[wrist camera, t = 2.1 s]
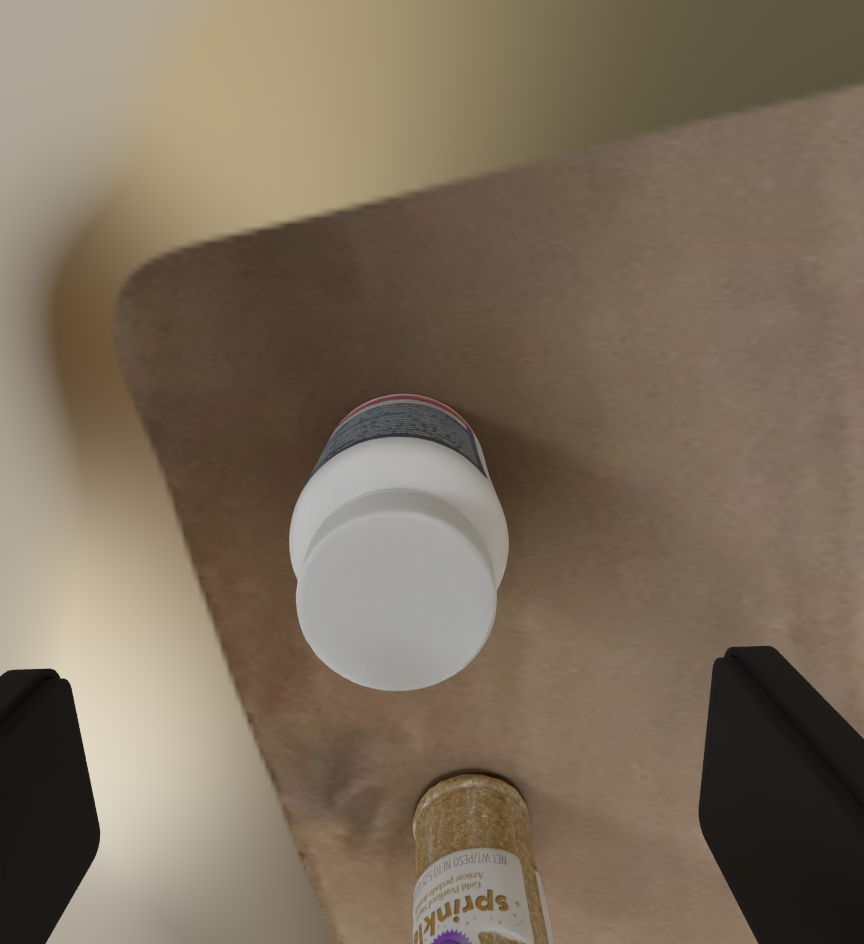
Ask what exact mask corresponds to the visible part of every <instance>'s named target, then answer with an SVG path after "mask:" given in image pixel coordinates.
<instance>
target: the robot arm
mask: <svg viewBox="0 0 864 944" xmlns="http://www.w3.org/2000/svg"><path fill="white" fill-rule="evenodd" d="M699 821H700V826H701V830H702V833H703V836H704V838H705V840H706V842H707V844H708V846H709V848H710V850H711V852H712V854H713V856H714V858H715V860H716V862H717V864H718V866H719V868H720V870H721V872H722V874H723V875H724V877H725V879H726V881H727V883H728V885H729V887H730V889H731V891H732V893H733V895H734V897H735V899H736V901H737V903H738V905H739V907H740V909H741V911H742V913H743V915H744V917H745V918H746V920H747V922H748V924H749V926H750V928H751V930H752V932H753V934H754V936H755V938H756V940H757V942H758V944H864V739H863V738H862V737H861V736H860V735H859V734H858V733H857V732H856V731H855V730H854V729H853V728H852V727H851V726H850V725H849V724H848V722H847V721H846V720H845V719H844V718H843V717H842V716H841V715H840V714H839V713H838V712H837V711H836V710H835V709H834V708H833V707H832V706H831V705H830V704H829V703H828V702H827V701H826V700H825V699H824V698H823V697H822V696H821V695H820V694H819V693H818V692H817V691H816V690H815V689H814V688H813V687H812V686H811V685H810V684H809V683H808V682H807V681H806V679H805V678H804V677H803V676H802V675H801V674H800V673H799V672H798V671H797V670H796V669H795V668H794V667H793V666H792V665H791V664H790V663H789V662H788V661H787V660H786V659H785V658H784V657H783V656H782V655H781V654H780V653H779V652H778V651H777V650H776V649H775V648H773V647H771V646H750V647H730V648H729V649H727V651H726V653H725V656H724V658H717V659H716V660H715V662H714V665H713V672H712V682H711V692H710V701H709V711H708V721H707V731H706V741H705V751H704V761H703V770H702V780H701V790H700V800H699ZM99 841H100V827H99V822H98V817H97V812H96V807H95V802H94V797H93V792H92V787H91V782H90V777H89V773H88V767H87V762H86V757H85V752H84V748H83V743H82V738H81V733H80V728H79V723H78V718H77V713H76V708H75V704H74V698H73V693H72V688H71V686H70V683H69V682H68V680H66V679H60V676H59V675H58V673H57V672H56V671H55V670H53V669H25V670H10V671H7V672H6V673H4V674H3V675H1V676H0V944H46V942H47V940H48V938H49V937H50V935H51V933H52V931H53V930H54V928H55V926H56V924H57V923H58V921H59V919H60V917H61V916H62V914H63V912H64V910H65V909H66V907H67V905H68V904H69V902H70V900H71V898H72V897H73V895H74V893H75V891H76V890H77V887H78V886H79V884H80V883H81V881H82V879H83V877H84V876H85V874H86V872H87V871H88V869H89V867H90V865H91V863H92V862H93V860H94V858H95V856H96V853H97V850H98V847H99Z"/></svg>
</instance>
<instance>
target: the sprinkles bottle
mask: <svg viewBox="0 0 864 944" xmlns="http://www.w3.org/2000/svg"><path fill="white" fill-rule="evenodd" d="M412 828H413V835H414V839H415V843H416V854H415V863H416V865H415V871H416V873H415V875H416V883H415V890H414V896H413V944H554V940H553V935H552V930H551V925H550V920H549V915H548V910H547V905H546V901H545V896H544V891H543V886H542V882H541V879H540V876H539V874H538V873H537V869H536V865H535V860H534V853H533V850H532V845H531V838H530V833H529V831H530V818H529V815H528V809H527V805H526V803H525V802H524V801H523V799H522V797H521V796H520V794H519V793H518V792H517V790H516V789H515V788H514V787H512V786H510V785H509V784H507V783H506V782H504V781H502V780H500V779H496V778H492V777H488V776H485V775H482V774H480V775H475V774H467V775H459V776H456V777H454V778H450V779H448V780H444V781H441V782H439V783H438V784H437V785H436V786H434V787H431V788H430V789H429V790H428V792H427V793H426V794H425V795H424V796H423V797H422V798H421V800H420V802H419V804H418V806H417V809H416V811H415V814H414V818H413V826H412Z"/></svg>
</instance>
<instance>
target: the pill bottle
mask: <svg viewBox="0 0 864 944" xmlns="http://www.w3.org/2000/svg"><path fill="white" fill-rule="evenodd" d="M289 549H290V557H291V562H292V566H293V570H294V573H295V575H296V578H297V580H298V584H297V590H296V607H297V614H298V619H299V623H300V626H301V629H302V632H303V635H304V636H305V638H306V641H307V642H308V643H309V644H310V646H311V648H312V649H313V651H314V652H315V653H316V655H317V656H318V657H319V658H320V659H321V660H322V661H323V662H324V663H325V664H326V665H327V666H328V667H330V668H331V669H332V670H333V671H335V672H336V673H338V674H339V675H341V676H342V677H344V678H346V679H348V680H350V681H352V682H354V683H357V684H359V685H362V686H366V687H370V688H374V689H379V690H385V691H408V690H415V689H421V688H424V687H428V686H431V685H434V684H437V683H439V682H441V681H443V680H445V679H448V678H449V677H451V676H453V675H455V674H456V673H457V672H459V671H460V670H462V669H463V668H464V667H465V666H466V665H468V664H469V663H470V662H471V661H472V660H473V659H474V657H475V656H476V655H477V654H478V652H479V651H480V650H481V649H482V647H483V645H484V644H485V642H486V640H487V638H488V636H489V635H490V632H491V629H492V626H493V624H494V620H495V615H496V607H497V592H496V591H497V589H498V587H499V585H500V583H501V580H502V578H503V575H504V572H505V568H506V564H507V559H508V551H509V538H508V529H507V524H506V519H505V516H504V513H503V510H502V507H501V504H500V502H499V499H498V497H497V494H496V492H495V490H494V487H493V485H492V482H491V479H490V476H489V473H488V470H487V466H486V462H485V459H484V455H483V451H482V448H481V446H480V444H479V441H478V439H477V437H476V436H475V434H474V432H473V431H472V429H471V428H470V426H469V425H468V424H467V423H466V421H465V420H464V419H463V418H462V417H461V416H460V415H459V414H458V413H456V412H455V411H454V410H453V409H451V408H450V407H448V406H446V405H445V404H443V403H441V402H439V401H437V400H434V399H432V398H429V397H425V396H420V395H414V394H393V395H387V396H382V397H379V398H376V399H373V400H371V401H368V402H366V403H364V404H362V405H361V406H359V407H357V408H356V409H355V410H353V411H352V412H351V413H349V414H348V415H347V416H346V417H345V418H344V419H343V420H342V421H341V422H340V424H339V425H338V426H337V427H336V429H335V430H334V432H333V433H332V435H331V437H330V438H329V440H328V442H327V444H326V446H325V448H324V450H323V452H322V454H321V455H320V457H319V459H318V461H317V463H316V465H315V467H314V469H313V471H312V472H311V474H310V476H309V478H308V480H307V482H306V484H305V486H304V488H303V489H302V491H301V493H300V495H299V498H298V500H297V503H296V506H295V509H294V513H293V516H292V520H291V526H290V536H289Z"/></svg>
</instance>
